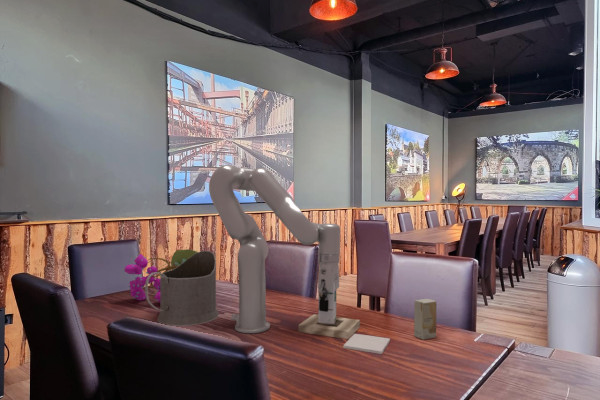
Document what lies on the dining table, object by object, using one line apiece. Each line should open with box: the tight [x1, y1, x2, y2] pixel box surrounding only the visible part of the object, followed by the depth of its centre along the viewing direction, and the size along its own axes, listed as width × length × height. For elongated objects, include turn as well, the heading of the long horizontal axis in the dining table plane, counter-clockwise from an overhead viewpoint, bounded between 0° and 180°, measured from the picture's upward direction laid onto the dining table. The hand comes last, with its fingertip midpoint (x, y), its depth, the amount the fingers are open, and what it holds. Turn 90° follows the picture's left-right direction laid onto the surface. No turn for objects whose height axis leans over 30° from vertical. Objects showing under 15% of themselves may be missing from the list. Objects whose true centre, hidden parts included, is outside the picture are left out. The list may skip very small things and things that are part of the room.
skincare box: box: [413, 298, 437, 340], centre depth 133 cm, size 6×4×12 cm
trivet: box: [342, 333, 391, 355], centre depth 126 cm, size 12×12×1 cm
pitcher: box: [144, 250, 220, 327], centre depth 153 cm, size 23×32×25 cm
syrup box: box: [317, 283, 337, 324], centre depth 141 cm, size 6×6×14 cm
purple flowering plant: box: [123, 249, 198, 304], centre depth 186 cm, size 30×28×35 cm
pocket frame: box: [298, 313, 361, 340], centre depth 141 cm, size 18×14×2 cm
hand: (327, 308), depth 141 cm, fingers closed on syrup box, 6 cm apart
